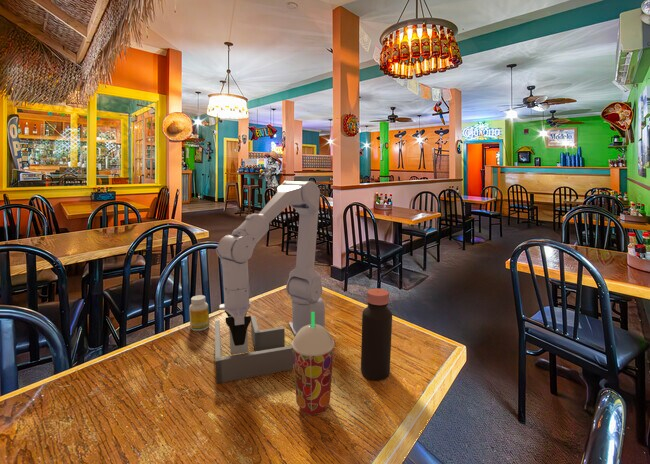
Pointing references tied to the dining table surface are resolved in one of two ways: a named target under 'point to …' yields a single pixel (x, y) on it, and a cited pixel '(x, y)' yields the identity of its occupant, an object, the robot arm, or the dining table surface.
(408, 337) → the dining table surface
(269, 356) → the rails
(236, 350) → the block
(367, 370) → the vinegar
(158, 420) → the dining table surface
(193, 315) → the supplement bottle
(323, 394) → the smoothie
